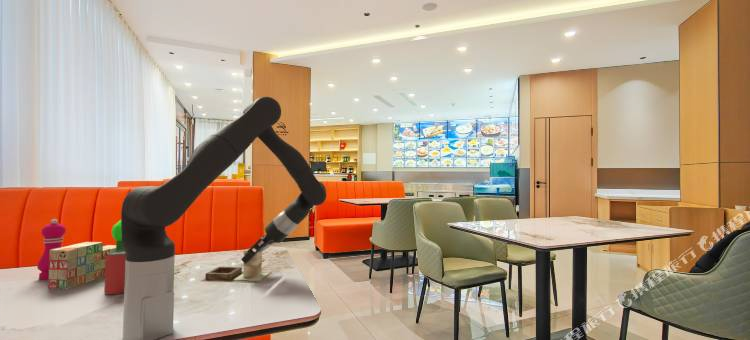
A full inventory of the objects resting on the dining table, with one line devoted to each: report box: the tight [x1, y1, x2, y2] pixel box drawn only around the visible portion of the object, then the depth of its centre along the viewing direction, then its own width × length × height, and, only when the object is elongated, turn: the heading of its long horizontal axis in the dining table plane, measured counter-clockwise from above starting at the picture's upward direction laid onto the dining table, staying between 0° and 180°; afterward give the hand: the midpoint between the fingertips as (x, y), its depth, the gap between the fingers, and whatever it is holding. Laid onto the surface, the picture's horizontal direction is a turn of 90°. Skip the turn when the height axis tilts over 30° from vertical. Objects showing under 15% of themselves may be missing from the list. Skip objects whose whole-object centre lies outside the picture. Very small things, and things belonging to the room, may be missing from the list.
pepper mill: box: [37, 218, 67, 281], centre depth 112 cm, size 7×7×20 cm
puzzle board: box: [200, 266, 273, 284], centre depth 112 cm, size 20×12×3 cm, turn 88°
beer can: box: [103, 250, 126, 296], centre depth 99 cm, size 7×7×12 cm
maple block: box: [243, 247, 263, 278], centre depth 112 cm, size 4×4×9 cm
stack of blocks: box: [47, 241, 116, 290], centre depth 111 cm, size 21×6×12 cm, turn 177°
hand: (249, 258), depth 112 cm, fingers open, 8 cm apart
